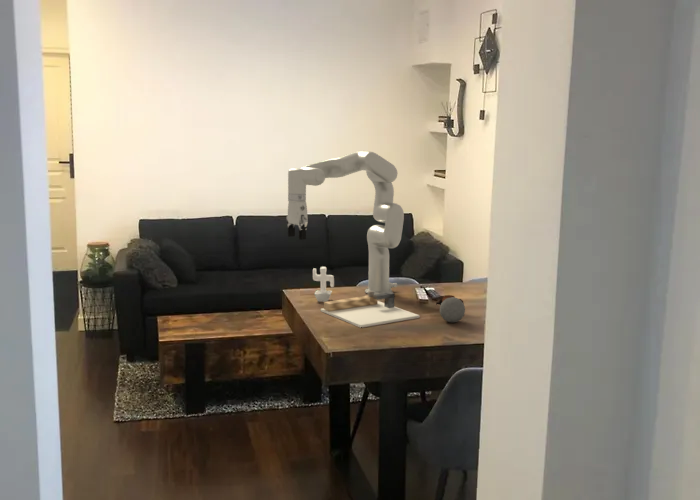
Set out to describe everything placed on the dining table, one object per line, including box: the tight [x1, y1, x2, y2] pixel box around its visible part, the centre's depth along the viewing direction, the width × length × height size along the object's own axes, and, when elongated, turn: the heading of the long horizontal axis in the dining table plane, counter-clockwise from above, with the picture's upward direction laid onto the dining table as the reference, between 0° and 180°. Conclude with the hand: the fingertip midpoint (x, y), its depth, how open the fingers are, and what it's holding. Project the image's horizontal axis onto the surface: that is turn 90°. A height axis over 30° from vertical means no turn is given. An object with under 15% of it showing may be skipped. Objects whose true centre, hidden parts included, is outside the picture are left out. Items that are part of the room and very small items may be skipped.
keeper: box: [373, 291, 395, 308], centre depth 320 cm, size 9×3×6 cm, turn 123°
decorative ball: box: [439, 296, 466, 323], centre depth 301 cm, size 10×10×10 cm
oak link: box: [323, 291, 379, 311], centre depth 320 cm, size 25×6×5 cm, turn 123°
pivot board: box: [320, 300, 420, 329], centre depth 313 cm, size 29×30×1 cm
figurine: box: [312, 266, 335, 303], centre depth 335 cm, size 7×9×15 cm
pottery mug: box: [435, 294, 465, 306], centre depth 318 cm, size 12×10×8 cm
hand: (296, 237), depth 322 cm, fingers open, 9 cm apart
